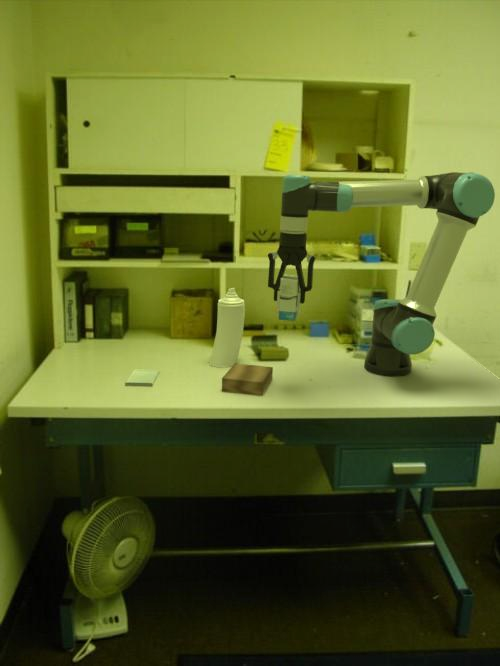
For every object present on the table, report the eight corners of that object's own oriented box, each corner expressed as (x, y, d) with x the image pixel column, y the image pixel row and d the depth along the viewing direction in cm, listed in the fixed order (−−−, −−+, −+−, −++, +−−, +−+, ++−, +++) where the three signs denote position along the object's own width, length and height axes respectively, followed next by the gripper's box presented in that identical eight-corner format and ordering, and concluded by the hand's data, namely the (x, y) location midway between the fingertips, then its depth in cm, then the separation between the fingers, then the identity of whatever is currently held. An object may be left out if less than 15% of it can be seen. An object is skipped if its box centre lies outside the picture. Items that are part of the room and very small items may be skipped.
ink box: (294, 321, 173) (297, 280, 170) (277, 320, 174) (279, 279, 171) (298, 314, 181) (301, 275, 178) (282, 313, 182) (284, 274, 179)
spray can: (217, 355, 211) (217, 283, 204) (247, 358, 208) (248, 286, 201) (205, 365, 200) (205, 290, 193) (237, 369, 197) (238, 293, 191)
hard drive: (152, 383, 181) (159, 369, 193) (124, 382, 181) (133, 368, 193) (152, 388, 181) (159, 374, 193) (125, 387, 181) (133, 373, 193)
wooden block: (272, 379, 189) (272, 367, 188) (262, 395, 176) (262, 382, 175) (234, 375, 192) (234, 363, 190) (221, 391, 178) (222, 378, 177)
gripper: (327, 232, 173) (321, 313, 179) (264, 228, 176) (260, 307, 183) (324, 235, 166) (317, 319, 172) (258, 231, 169) (254, 312, 176)
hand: (288, 312), depth 177 cm, fingers closed on ink box, 5 cm apart
